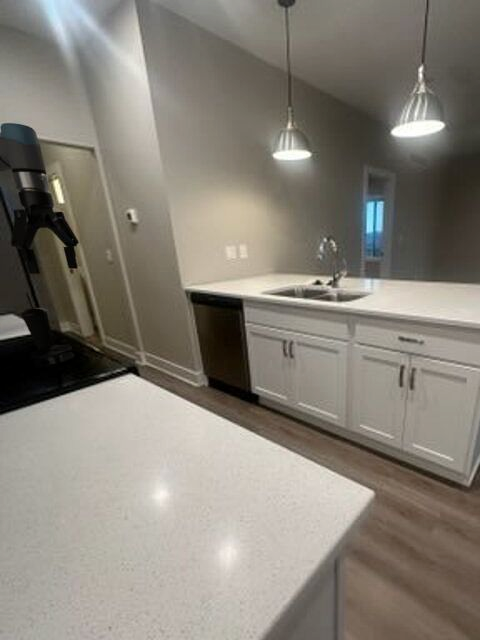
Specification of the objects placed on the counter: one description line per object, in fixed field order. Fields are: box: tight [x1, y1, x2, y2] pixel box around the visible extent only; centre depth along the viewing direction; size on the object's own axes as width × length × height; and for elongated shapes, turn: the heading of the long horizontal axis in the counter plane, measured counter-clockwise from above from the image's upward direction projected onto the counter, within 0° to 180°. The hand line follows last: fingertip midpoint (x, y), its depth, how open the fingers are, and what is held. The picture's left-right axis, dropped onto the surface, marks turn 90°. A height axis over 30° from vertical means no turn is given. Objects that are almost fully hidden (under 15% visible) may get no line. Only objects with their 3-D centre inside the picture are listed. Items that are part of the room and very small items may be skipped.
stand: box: [30, 344, 76, 370], centre depth 110 cm, size 11×11×4 cm
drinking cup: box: [19, 293, 55, 350], centre depth 120 cm, size 8×8×20 cm
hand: (55, 271), depth 102 cm, fingers open, 13 cm apart
